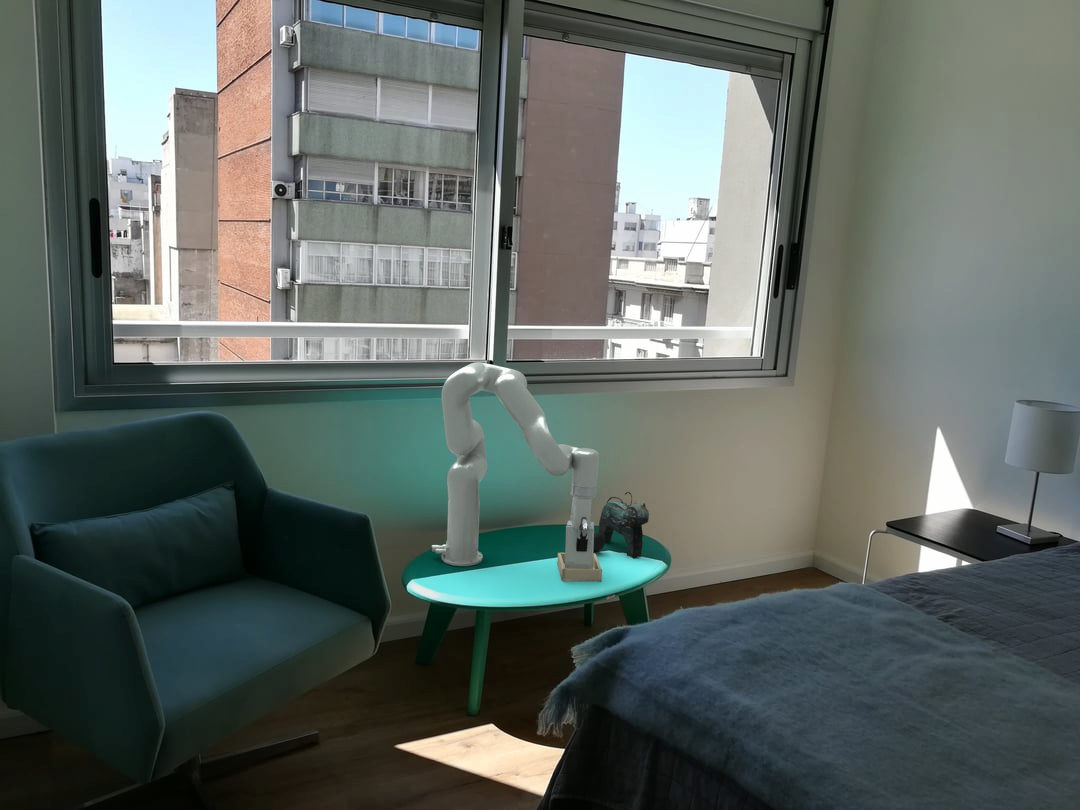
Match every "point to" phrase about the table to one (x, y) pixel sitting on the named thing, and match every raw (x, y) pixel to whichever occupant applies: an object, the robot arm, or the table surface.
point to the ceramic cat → (624, 523)
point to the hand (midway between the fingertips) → (579, 545)
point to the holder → (579, 571)
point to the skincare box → (571, 555)
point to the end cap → (598, 542)
